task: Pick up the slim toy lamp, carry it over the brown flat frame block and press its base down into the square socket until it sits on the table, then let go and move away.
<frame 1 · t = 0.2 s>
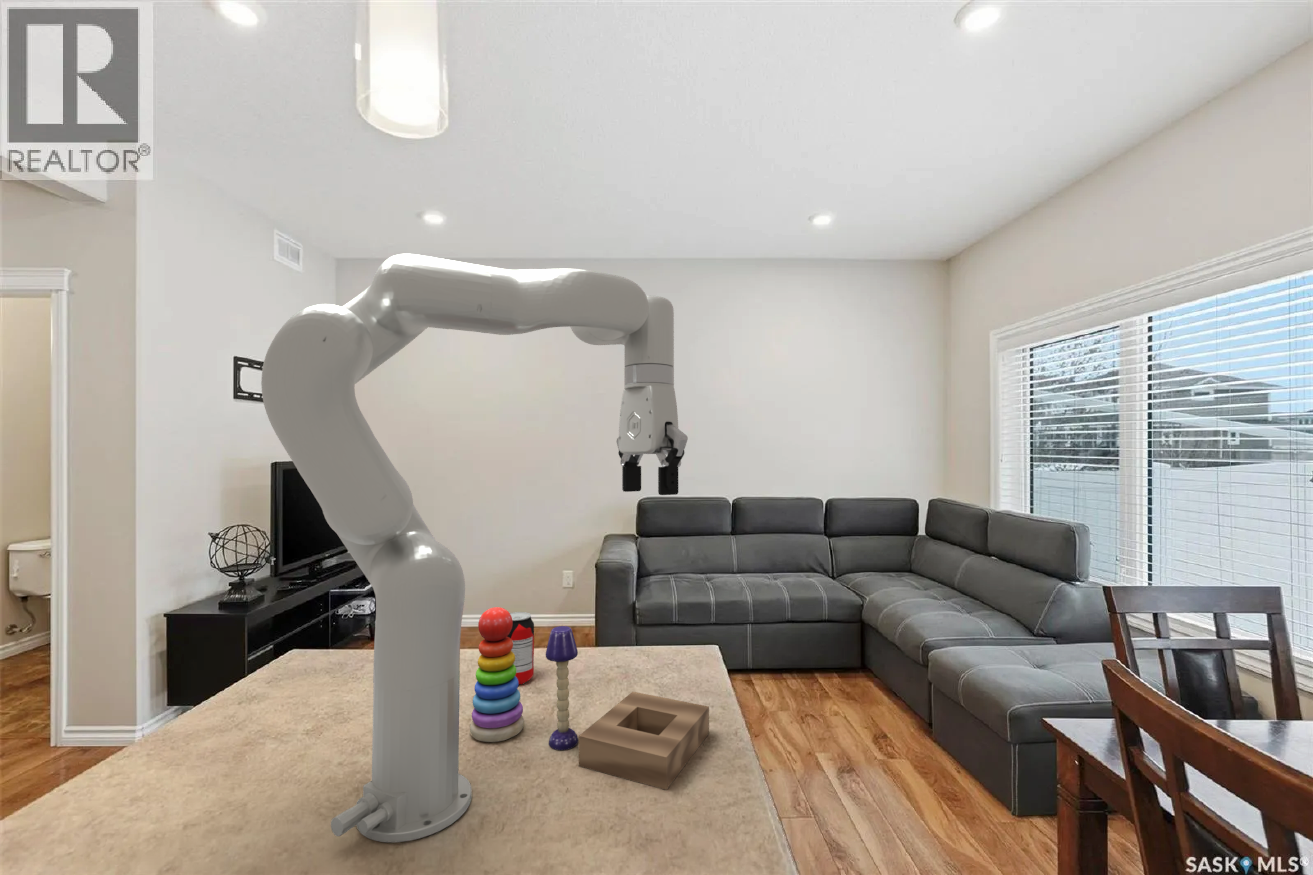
hand: (649, 492, 85), 36 cm above the countertop, tool pointing down, fingers open, 9 cm apart
brown flat frame block: (647, 748, 81), on the countertop
toy lamp: (561, 745, 82), on the countertop
beverage can: (516, 681, 105), on the countertop
stacking toy: (497, 732, 86), on the countertop
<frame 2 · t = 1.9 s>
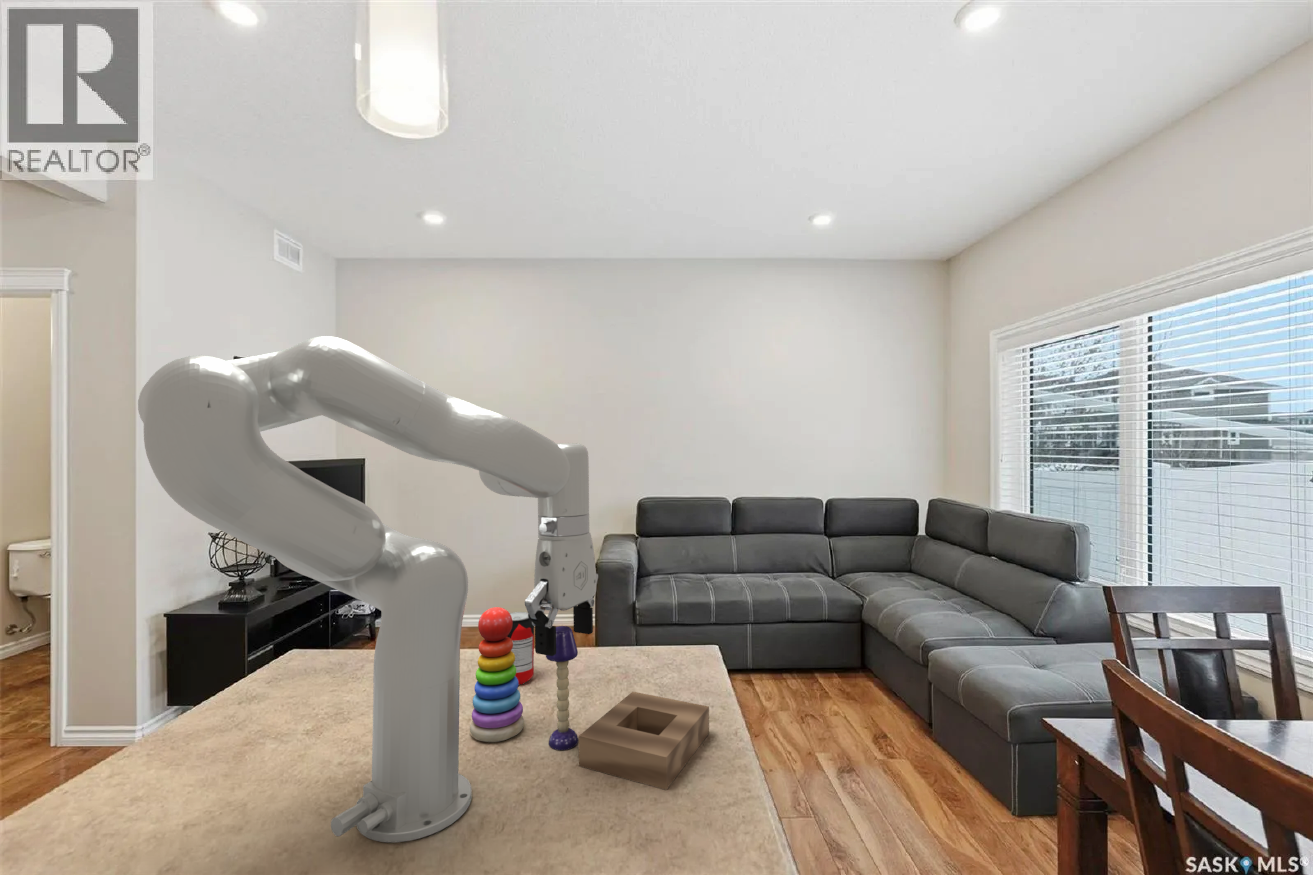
hand: (565, 642, 83), 14 cm above the countertop, tool pointing down, fingers open, 9 cm apart
nothing on the countertop moved.
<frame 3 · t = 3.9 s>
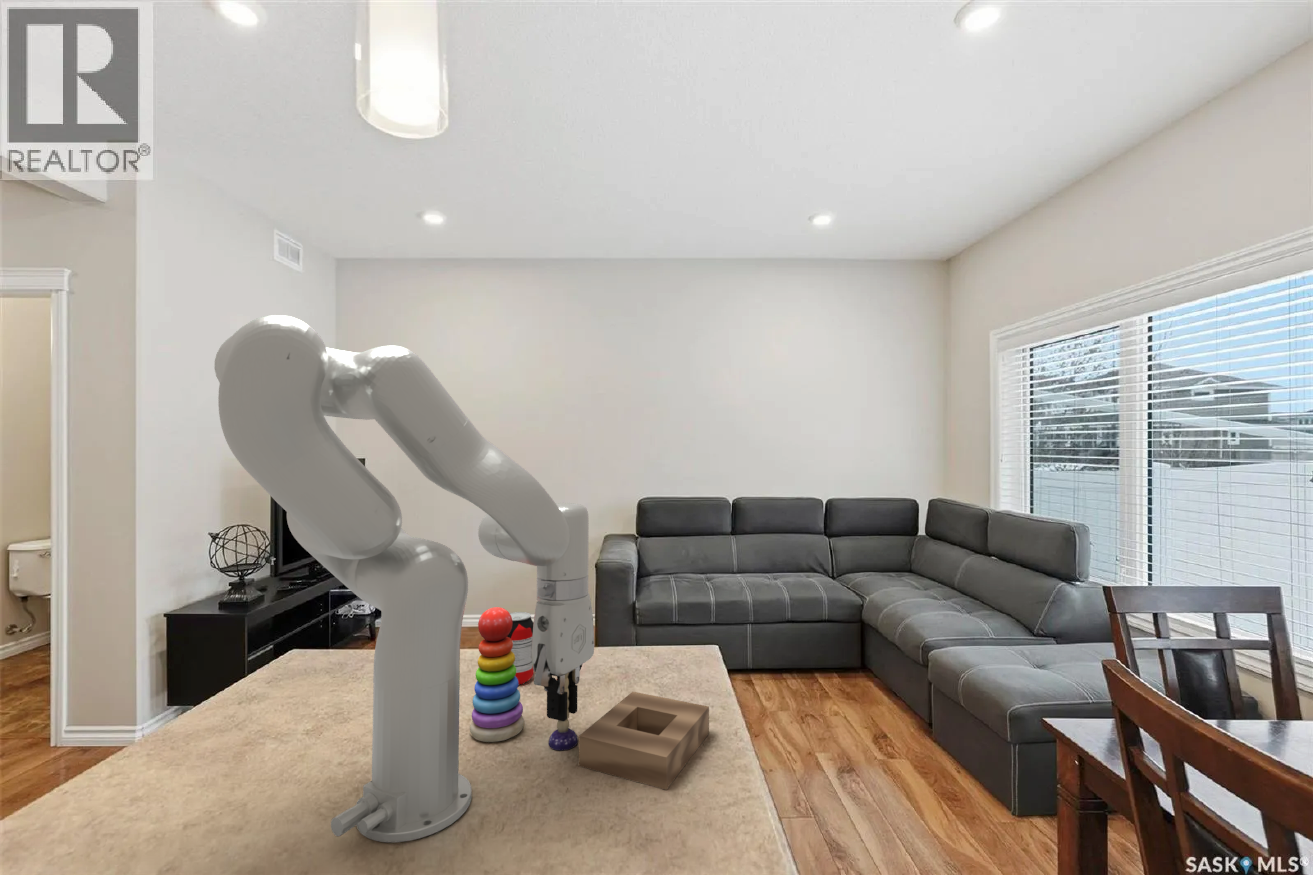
hand: (562, 714, 82), 4 cm above the countertop, tool pointing down, fingers closed on toy lamp
toy lamp: (561, 745, 82), on the countertop, touching gripper
everything else where it was.
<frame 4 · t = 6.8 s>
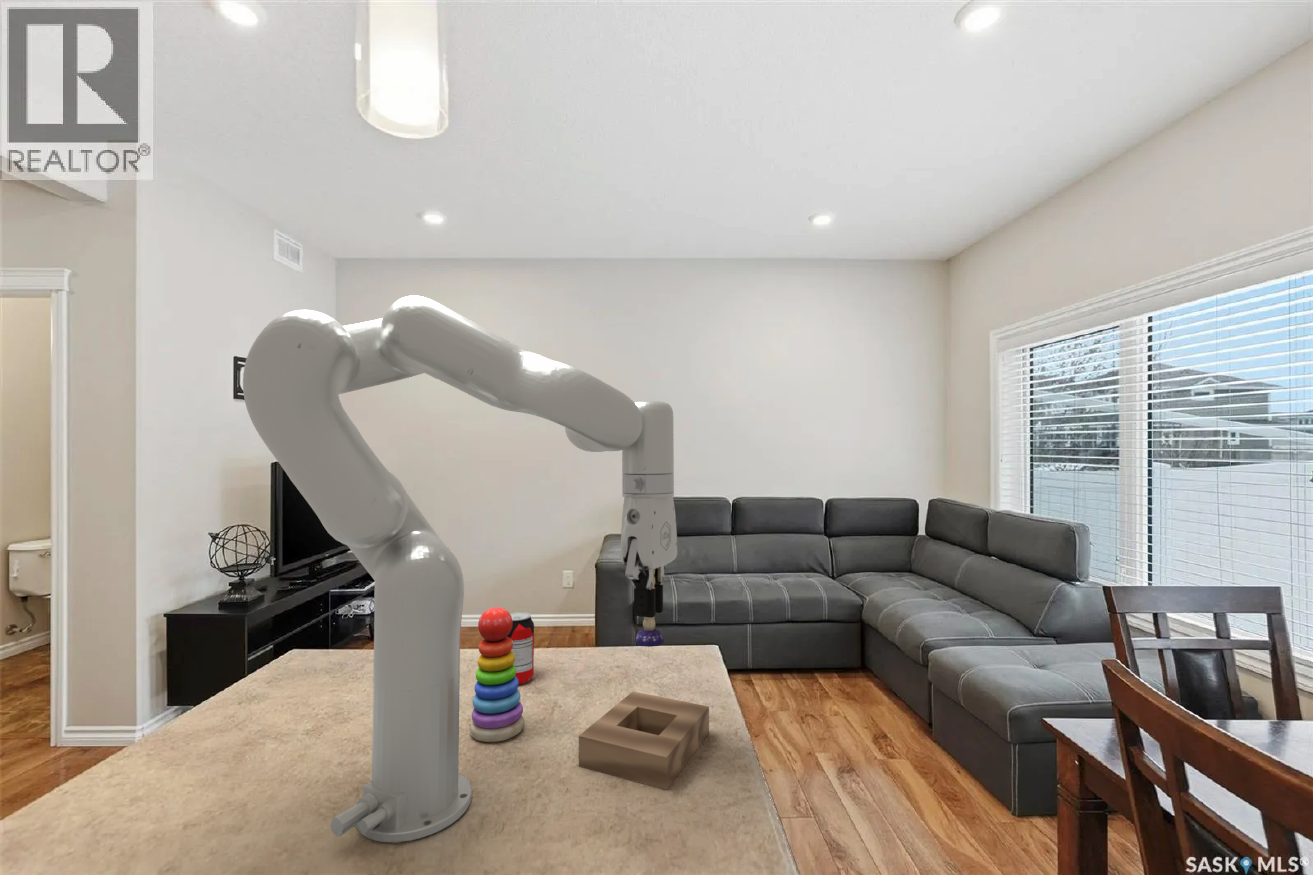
hand: (648, 612, 82), 19 cm above the countertop, tool pointing down, fingers closed on toy lamp
toy lamp: (647, 644, 81), point 15 cm above the countertop, touching gripper
everything else where it was.
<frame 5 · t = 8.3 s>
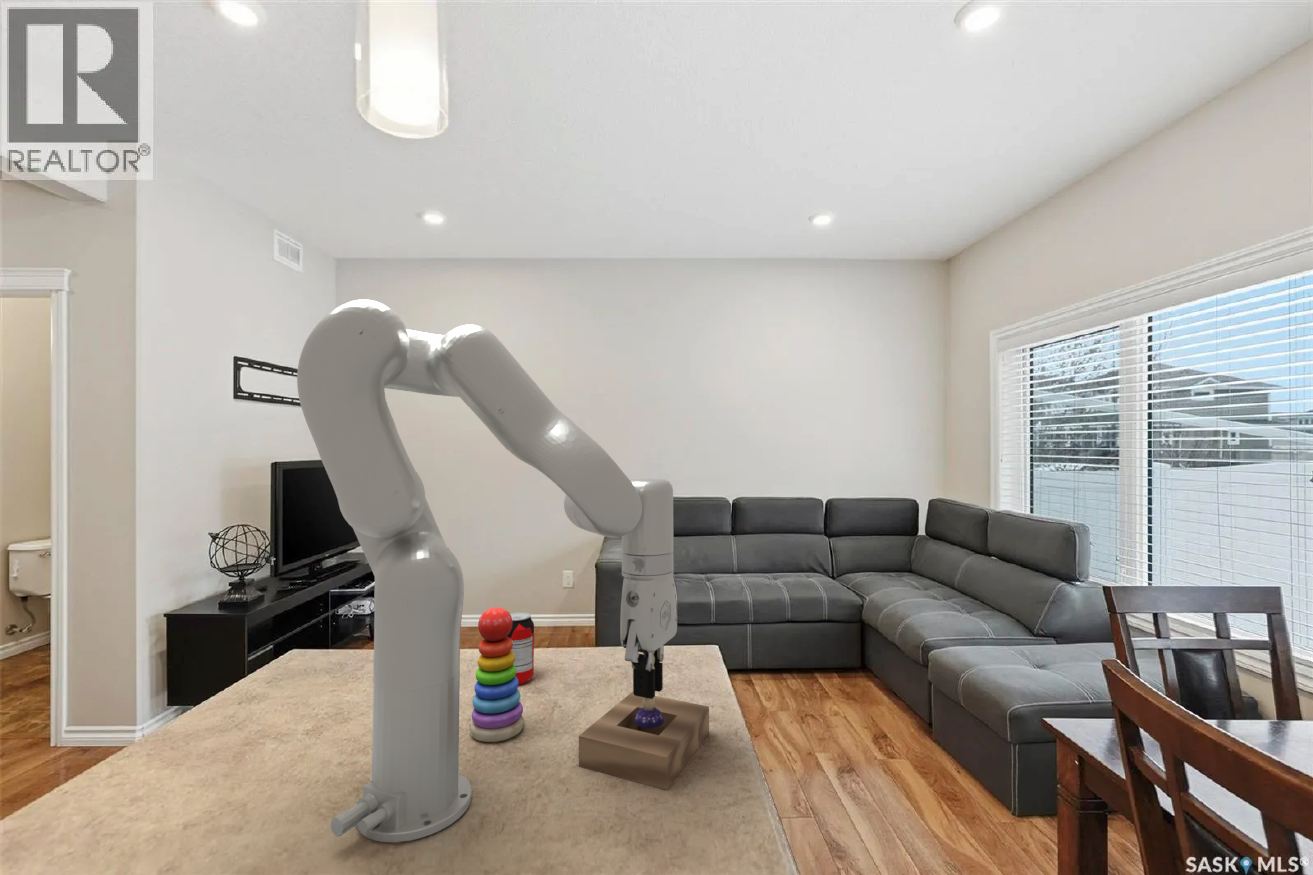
hand: (648, 692, 81), 8 cm above the countertop, tool pointing down, fingers closed on toy lamp
toy lamp: (647, 724, 81), point 4 cm above the countertop, touching gripper
everything else where it was.
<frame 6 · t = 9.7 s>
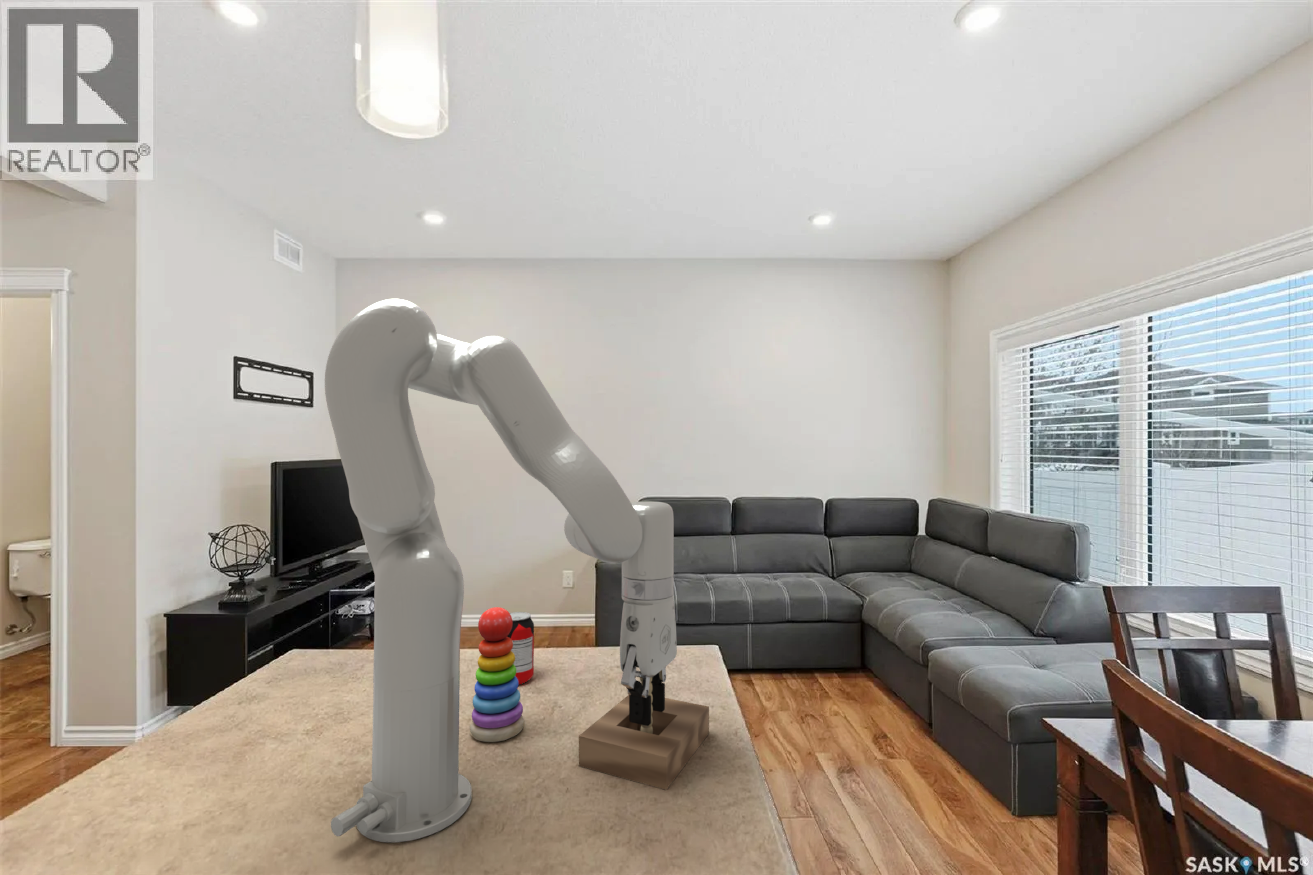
hand: (647, 714, 81), 5 cm above the countertop, tool pointing down, fingers open, 3 cm apart
toy lamp: (645, 751, 80), resting in brown flat frame block
everything else where it was.
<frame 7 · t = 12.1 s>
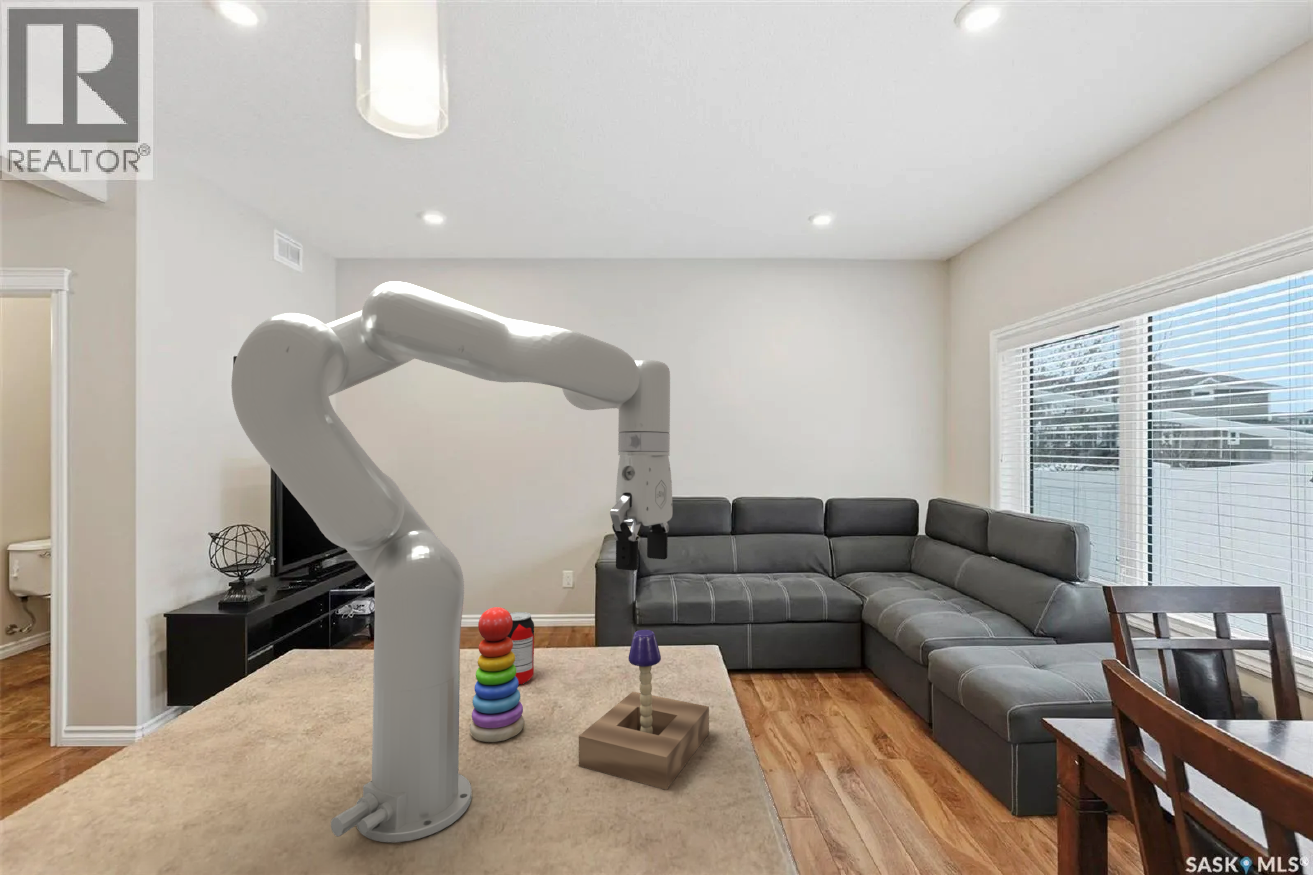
hand: (642, 563, 82), 26 cm above the countertop, tool pointing down, fingers open, 9 cm apart
nothing on the countertop moved.
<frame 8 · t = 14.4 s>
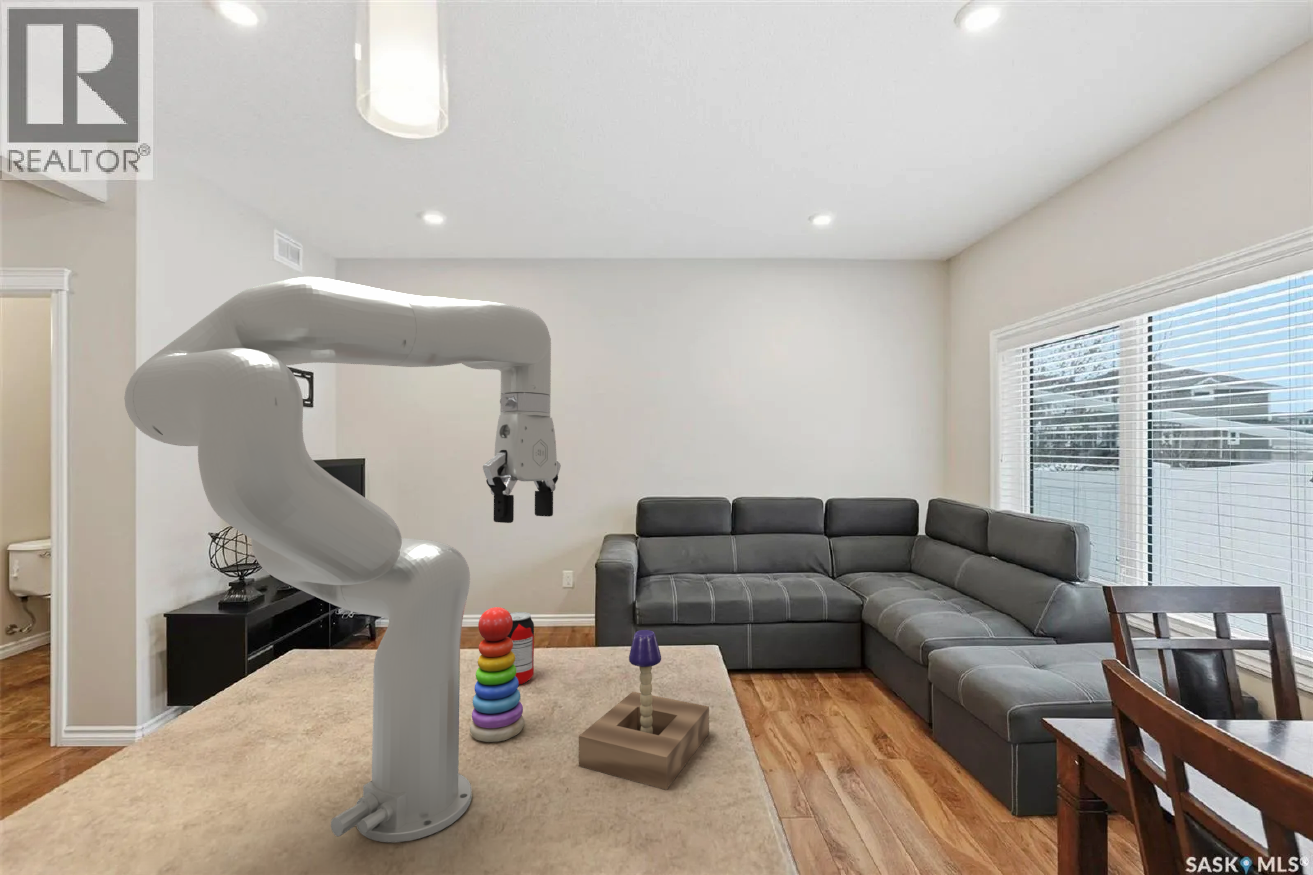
hand: (524, 519, 86), 32 cm above the countertop, tool pointing down, fingers open, 9 cm apart
nothing on the countertop moved.
at the end: toy lamp 0.5 cm off-centre on the brown flat frame block, point 0.0 cm above the brown flat frame block's base; toy lamp tilted 0°; the gripper is holding nothing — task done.
